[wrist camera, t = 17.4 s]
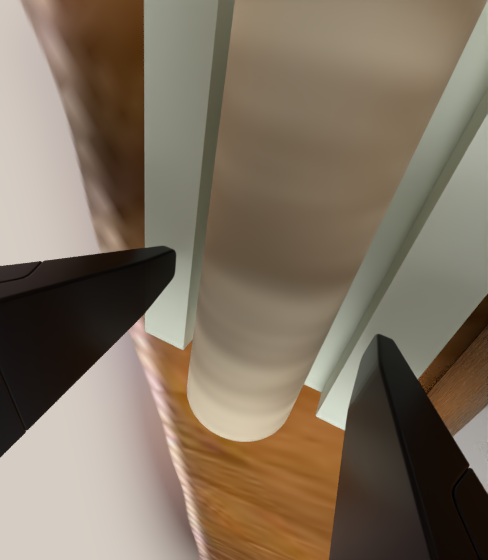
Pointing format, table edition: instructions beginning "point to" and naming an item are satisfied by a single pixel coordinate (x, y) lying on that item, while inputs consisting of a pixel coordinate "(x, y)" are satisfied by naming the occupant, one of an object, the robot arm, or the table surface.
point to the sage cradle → (389, 237)
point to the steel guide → (467, 404)
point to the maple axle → (305, 184)
